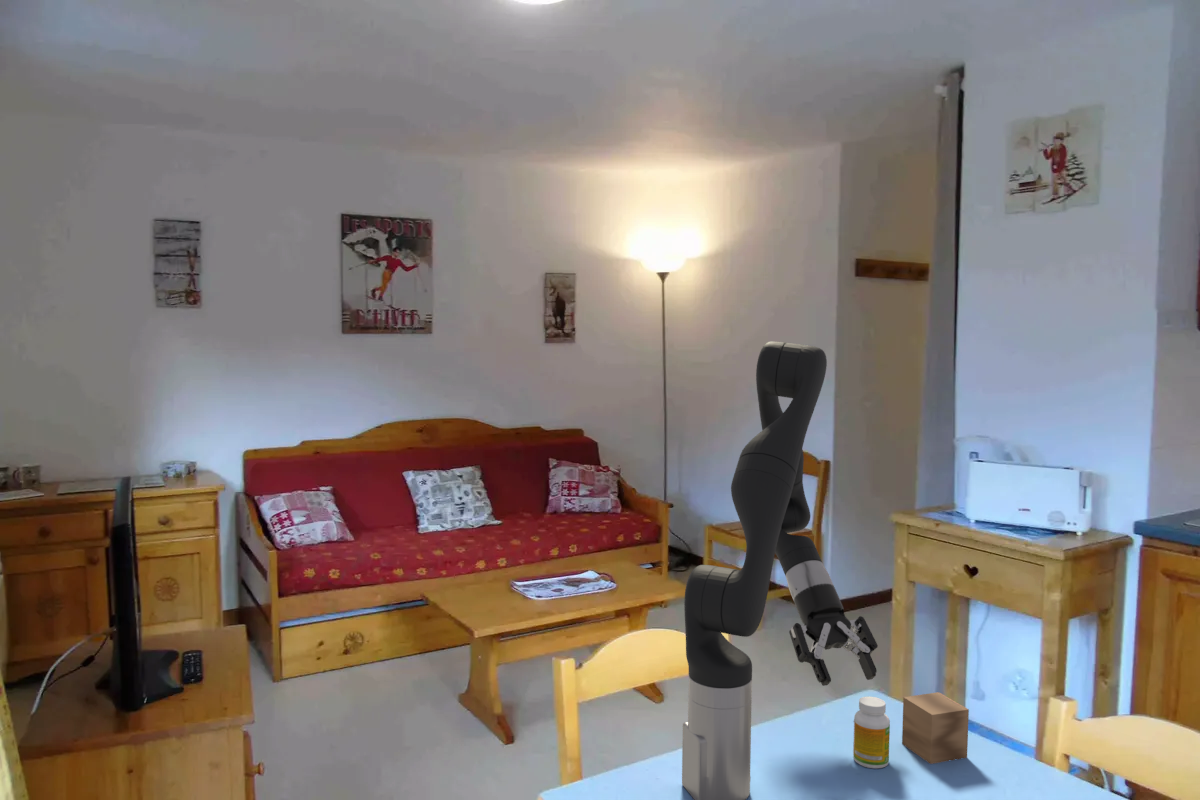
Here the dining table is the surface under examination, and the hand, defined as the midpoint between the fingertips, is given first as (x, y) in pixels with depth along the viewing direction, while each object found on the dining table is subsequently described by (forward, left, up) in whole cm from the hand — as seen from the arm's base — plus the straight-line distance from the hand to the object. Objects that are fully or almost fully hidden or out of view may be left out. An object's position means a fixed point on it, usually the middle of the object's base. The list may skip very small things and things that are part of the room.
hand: (849, 680), depth 139 cm
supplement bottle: (0, -6, -11) cm, 12 cm away
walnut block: (+12, -6, -11) cm, 17 cm away
